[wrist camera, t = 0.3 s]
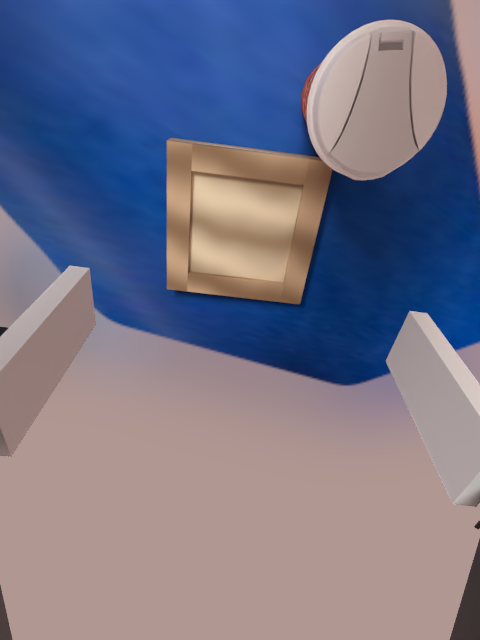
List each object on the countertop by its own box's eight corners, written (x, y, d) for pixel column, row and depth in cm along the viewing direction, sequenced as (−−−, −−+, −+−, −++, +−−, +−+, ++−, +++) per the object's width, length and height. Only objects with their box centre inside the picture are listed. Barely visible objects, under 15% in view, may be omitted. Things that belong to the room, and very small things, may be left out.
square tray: (171, 137, 35) (166, 140, 34) (330, 158, 36) (334, 162, 34) (170, 280, 44) (166, 289, 43) (298, 295, 45) (299, 304, 43)
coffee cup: (290, 44, 31) (315, 19, 19) (387, 40, 31) (478, 12, 18) (286, 149, 36) (304, 186, 23) (370, 147, 35) (434, 183, 23)
